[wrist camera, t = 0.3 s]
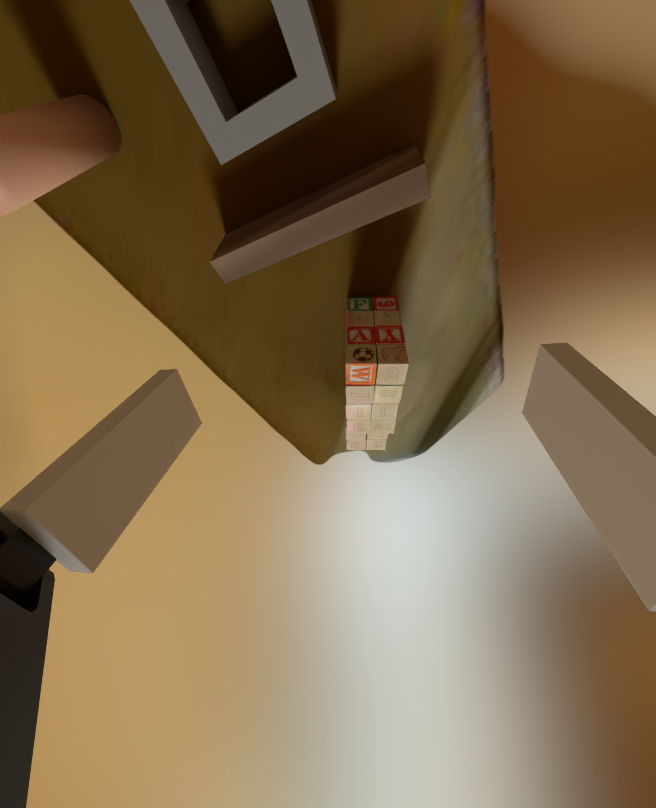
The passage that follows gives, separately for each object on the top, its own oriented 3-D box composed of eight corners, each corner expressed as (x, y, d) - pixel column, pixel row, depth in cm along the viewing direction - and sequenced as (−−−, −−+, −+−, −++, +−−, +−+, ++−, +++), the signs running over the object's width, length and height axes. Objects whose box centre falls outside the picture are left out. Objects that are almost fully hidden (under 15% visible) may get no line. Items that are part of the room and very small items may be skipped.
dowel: (65, 81, 25) (-93, 114, 16) (120, 113, 26) (3, 160, 17) (71, 139, 28) (-60, 194, 19) (121, 165, 29) (21, 228, 20)
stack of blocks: (381, 405, 55) (386, 468, 47) (345, 404, 55) (345, 467, 47) (397, 294, 38) (410, 364, 30) (346, 295, 38) (345, 364, 31)
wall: (225, 234, 33) (209, 261, 29) (414, 143, 27) (425, 163, 23) (238, 255, 35) (225, 283, 31) (419, 174, 28) (430, 197, 25)
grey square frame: (142, -23, 21) (113, -29, 18) (271, -141, 17) (258, -169, 15) (232, 152, 28) (221, 165, 25) (337, 91, 24) (335, 99, 22)
